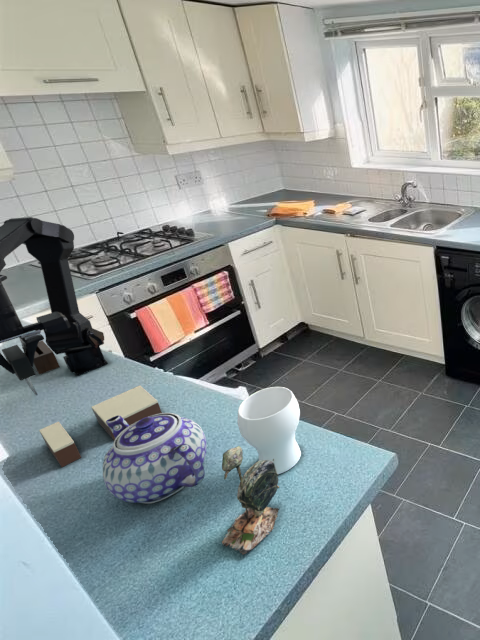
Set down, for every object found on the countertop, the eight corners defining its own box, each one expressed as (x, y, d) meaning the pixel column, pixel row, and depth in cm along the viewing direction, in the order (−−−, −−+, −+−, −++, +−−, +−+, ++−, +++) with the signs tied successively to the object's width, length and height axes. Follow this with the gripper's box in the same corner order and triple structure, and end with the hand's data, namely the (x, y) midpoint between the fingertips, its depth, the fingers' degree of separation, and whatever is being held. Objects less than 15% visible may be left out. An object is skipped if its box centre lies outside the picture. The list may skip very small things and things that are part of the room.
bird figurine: (301, 506, 78) (281, 422, 71) (241, 563, 69) (211, 473, 62) (272, 489, 82) (250, 407, 74) (211, 541, 72) (179, 453, 65)
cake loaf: (145, 399, 104) (140, 385, 103) (163, 416, 99) (157, 400, 98) (98, 422, 97) (91, 406, 95) (114, 440, 92) (107, 424, 91)
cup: (319, 451, 90) (307, 395, 85) (272, 490, 81) (256, 430, 76) (287, 433, 95) (274, 378, 89) (239, 468, 86) (222, 409, 81)
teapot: (246, 472, 85) (228, 414, 80) (161, 541, 72) (133, 477, 66) (171, 432, 95) (150, 377, 89) (83, 486, 82) (53, 426, 76)
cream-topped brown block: (66, 437, 93) (58, 421, 91) (81, 457, 88) (73, 441, 86) (47, 446, 91) (38, 430, 89) (61, 467, 86) (53, 450, 84)
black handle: (35, 380, 99) (17, 344, 95) (45, 393, 95) (26, 356, 91) (20, 386, 97) (1, 349, 93) (30, 399, 93) (10, 361, 90)
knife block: (49, 355, 121) (42, 340, 119) (60, 367, 116) (53, 351, 114) (29, 362, 118) (21, 347, 116) (39, 374, 113) (31, 359, 111)
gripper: (42, 283, 100) (68, 339, 105) (-88, 316, 85) (-51, 379, 91) (57, 295, 94) (83, 353, 100) (-80, 332, 79) (-40, 399, 85)
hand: (22, 369), depth 94 cm, fingers closed on black handle, 2 cm apart
